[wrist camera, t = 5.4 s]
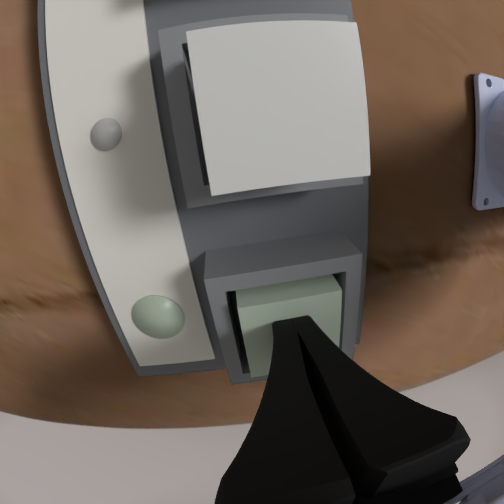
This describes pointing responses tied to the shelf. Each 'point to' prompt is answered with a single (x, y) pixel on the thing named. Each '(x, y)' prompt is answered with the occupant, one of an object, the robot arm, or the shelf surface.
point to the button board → (236, 193)
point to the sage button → (286, 313)
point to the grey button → (280, 103)
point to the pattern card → (123, 175)
